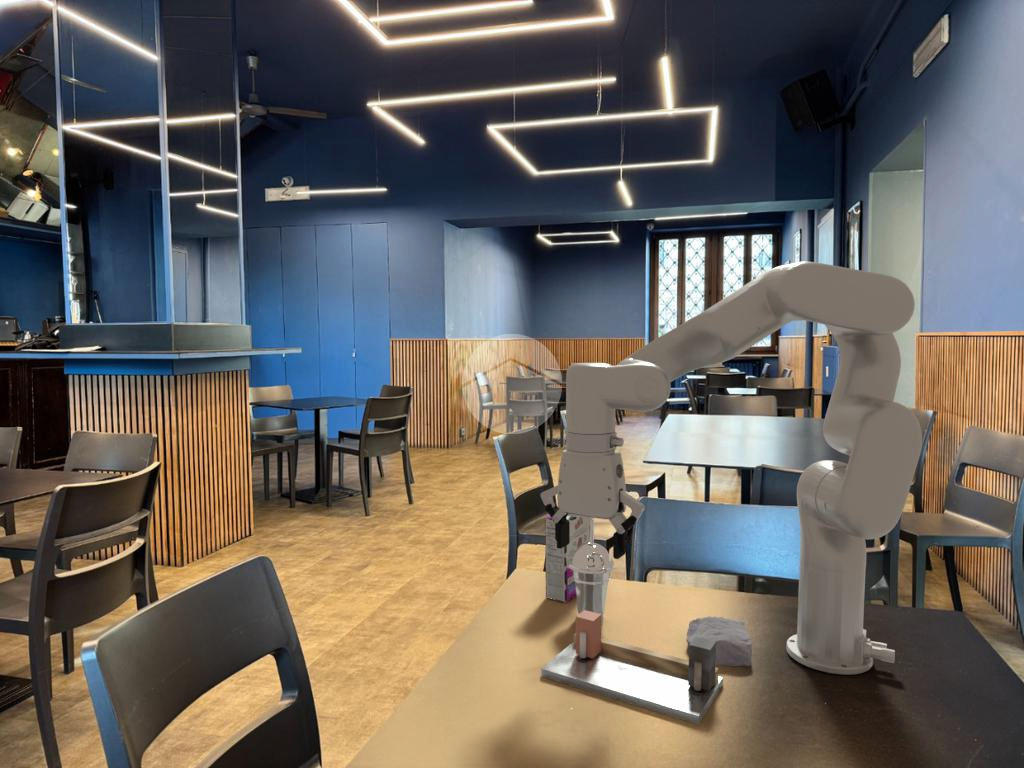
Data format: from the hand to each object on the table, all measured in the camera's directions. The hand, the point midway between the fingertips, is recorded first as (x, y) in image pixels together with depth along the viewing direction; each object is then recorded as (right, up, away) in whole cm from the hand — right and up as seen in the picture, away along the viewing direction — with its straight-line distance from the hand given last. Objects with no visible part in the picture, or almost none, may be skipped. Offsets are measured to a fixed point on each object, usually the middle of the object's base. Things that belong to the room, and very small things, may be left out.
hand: (590, 551), depth 107 cm
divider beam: (+7, -17, -3) cm, 18 cm away
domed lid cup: (+2, -17, +18) cm, 24 cm away
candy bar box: (-1, -16, +30) cm, 34 cm away
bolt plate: (+5, -18, -5) cm, 20 cm away
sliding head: (0, -16, +1) cm, 16 cm away
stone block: (+21, -18, +6) cm, 29 cm away
